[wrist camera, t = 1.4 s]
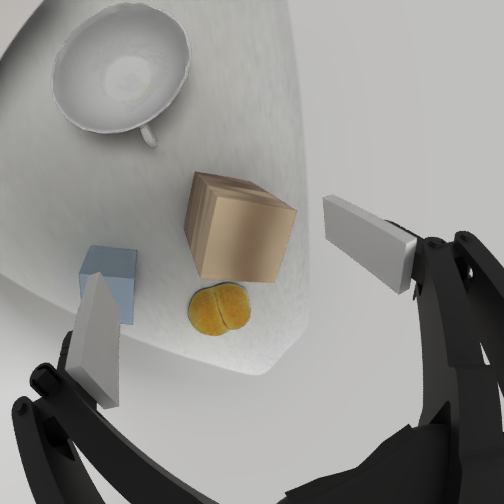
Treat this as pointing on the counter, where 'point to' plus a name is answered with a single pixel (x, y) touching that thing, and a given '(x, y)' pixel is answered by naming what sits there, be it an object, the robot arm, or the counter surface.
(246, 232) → the tower mid
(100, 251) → the slate block
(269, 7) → the counter surface
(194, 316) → the bread roll
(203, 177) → the tower base
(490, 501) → the robot arm
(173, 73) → the teacup
